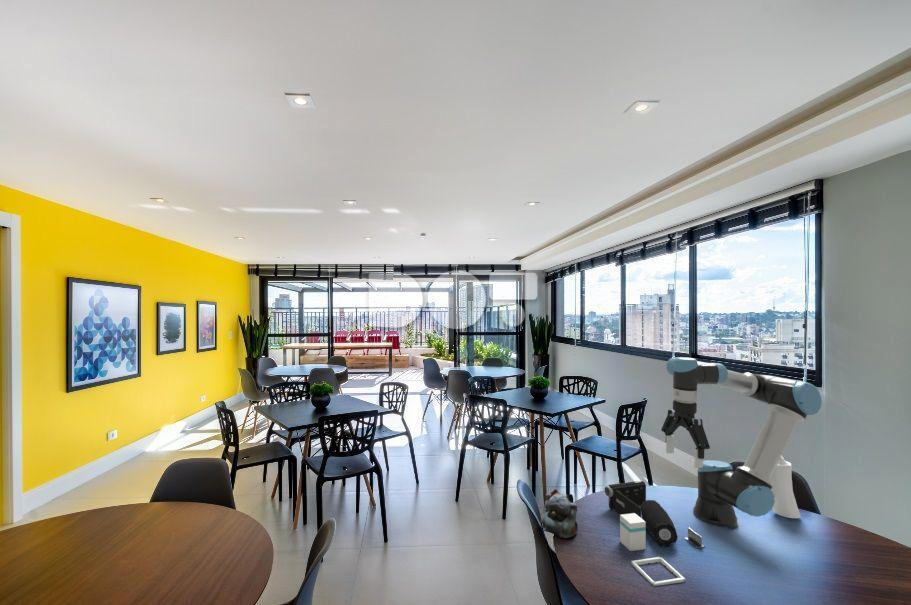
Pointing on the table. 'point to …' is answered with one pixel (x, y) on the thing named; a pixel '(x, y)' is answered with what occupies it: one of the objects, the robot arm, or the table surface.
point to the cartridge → (632, 532)
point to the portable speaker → (658, 523)
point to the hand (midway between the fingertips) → (683, 459)
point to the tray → (660, 559)
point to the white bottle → (784, 490)
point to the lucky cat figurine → (560, 515)
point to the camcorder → (626, 497)
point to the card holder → (694, 539)
